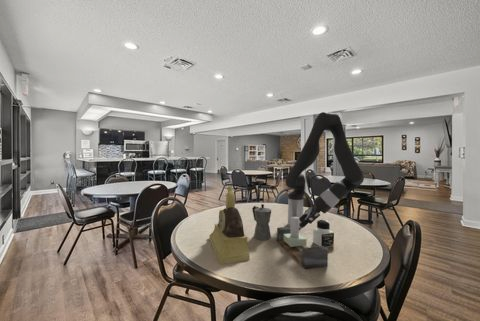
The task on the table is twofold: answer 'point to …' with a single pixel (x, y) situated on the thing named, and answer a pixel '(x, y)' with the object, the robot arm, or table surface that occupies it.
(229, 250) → the decorative clock
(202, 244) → the table surface
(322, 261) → the rail
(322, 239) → the medicine bottle
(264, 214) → the coffeepot
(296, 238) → the carriage
